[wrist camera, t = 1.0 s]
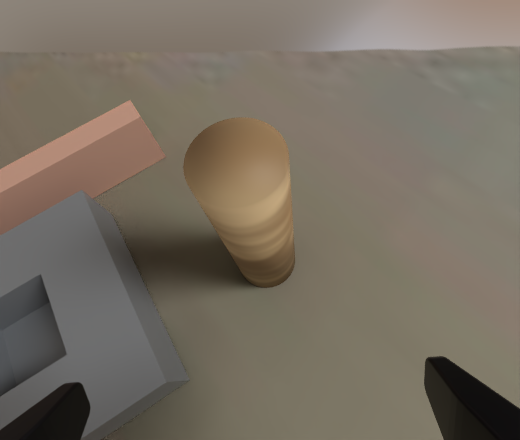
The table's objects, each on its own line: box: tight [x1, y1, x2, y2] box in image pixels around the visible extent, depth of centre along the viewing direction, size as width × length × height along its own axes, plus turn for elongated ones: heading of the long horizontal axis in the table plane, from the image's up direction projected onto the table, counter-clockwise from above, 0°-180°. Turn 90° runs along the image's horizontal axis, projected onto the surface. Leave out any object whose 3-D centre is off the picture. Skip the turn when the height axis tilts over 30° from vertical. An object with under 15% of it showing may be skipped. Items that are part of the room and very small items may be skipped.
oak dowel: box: [184, 118, 295, 288], centre depth 18 cm, size 4×4×12 cm
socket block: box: [0, 190, 189, 440], centre depth 21 cm, size 14×14×4 cm
